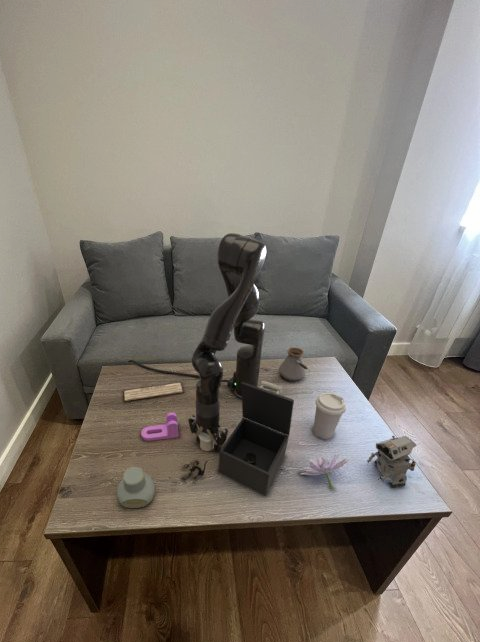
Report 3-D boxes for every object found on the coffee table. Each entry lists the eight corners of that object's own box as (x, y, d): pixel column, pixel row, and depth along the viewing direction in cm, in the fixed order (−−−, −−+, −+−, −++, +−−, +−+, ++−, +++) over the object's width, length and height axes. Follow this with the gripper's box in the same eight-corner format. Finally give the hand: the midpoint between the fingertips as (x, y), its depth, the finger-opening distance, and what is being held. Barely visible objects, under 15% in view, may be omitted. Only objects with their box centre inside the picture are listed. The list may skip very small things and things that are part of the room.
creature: (177, 479, 99) (199, 487, 95) (173, 467, 97) (195, 474, 92) (191, 461, 105) (211, 468, 100) (187, 449, 102) (208, 455, 98)
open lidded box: (265, 496, 93) (269, 475, 87) (218, 472, 100) (219, 451, 94) (284, 456, 104) (288, 435, 99) (241, 437, 111) (243, 417, 106)
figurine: (356, 465, 101) (369, 432, 93) (390, 461, 102) (406, 428, 94) (372, 491, 93) (389, 457, 85) (409, 486, 94) (429, 453, 86)
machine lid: (293, 401, 86) (299, 388, 89) (240, 383, 94) (248, 371, 97) (288, 435, 98) (294, 423, 101) (242, 417, 106) (249, 405, 109)
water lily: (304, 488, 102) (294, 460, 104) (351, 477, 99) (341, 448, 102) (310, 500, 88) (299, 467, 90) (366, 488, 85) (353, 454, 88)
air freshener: (116, 510, 90) (111, 489, 84) (120, 484, 97) (115, 463, 91) (155, 508, 90) (152, 487, 85) (156, 482, 97) (153, 461, 92)
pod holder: (252, 475, 98) (253, 464, 95) (241, 469, 99) (242, 458, 97) (256, 466, 100) (258, 455, 97) (246, 461, 102) (247, 450, 99)
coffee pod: (195, 446, 109) (195, 435, 106) (206, 436, 112) (206, 426, 109) (208, 455, 105) (208, 444, 103) (218, 445, 109) (218, 434, 106)
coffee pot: (275, 368, 145) (279, 340, 137) (300, 368, 145) (306, 339, 137) (286, 399, 128) (291, 369, 119) (315, 399, 127) (322, 369, 119)
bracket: (176, 425, 117) (176, 411, 113) (178, 437, 112) (177, 422, 108) (141, 430, 115) (139, 416, 112) (141, 441, 111) (139, 427, 107)
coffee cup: (339, 444, 108) (350, 411, 100) (310, 440, 110) (318, 408, 101) (334, 424, 116) (344, 392, 108) (307, 420, 117) (314, 389, 109)
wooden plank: (125, 402, 128) (124, 398, 127) (124, 391, 134) (124, 387, 133) (182, 393, 132) (182, 390, 131) (179, 383, 138) (179, 379, 137)
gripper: (233, 409, 99) (231, 447, 108) (194, 394, 106) (196, 431, 115) (222, 424, 94) (221, 462, 103) (182, 408, 100) (184, 445, 109)
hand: (208, 445), depth 109 cm, fingers open, 5 cm apart
